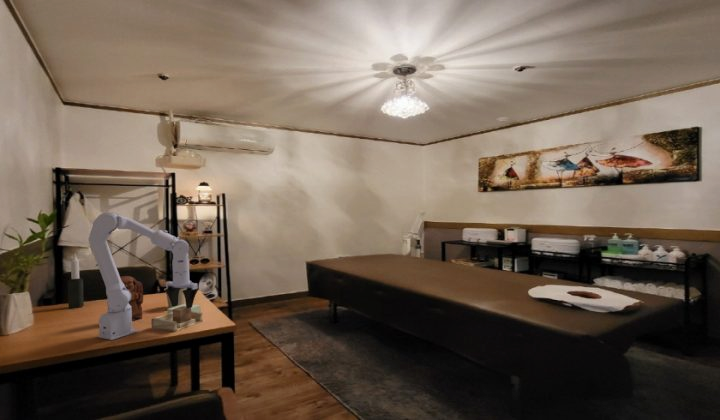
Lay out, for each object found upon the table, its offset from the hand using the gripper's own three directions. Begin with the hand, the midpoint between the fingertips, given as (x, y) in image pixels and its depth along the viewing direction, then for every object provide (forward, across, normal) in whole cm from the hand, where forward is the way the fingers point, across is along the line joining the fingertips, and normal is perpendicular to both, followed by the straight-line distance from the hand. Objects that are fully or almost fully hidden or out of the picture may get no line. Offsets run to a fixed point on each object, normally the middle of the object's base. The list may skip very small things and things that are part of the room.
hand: (182, 306), depth 142 cm
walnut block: (+6, 0, 0) cm, 6 cm away
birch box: (+7, +3, 0) cm, 8 cm away
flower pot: (+7, +26, -19) cm, 33 cm away
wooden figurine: (+7, +28, +3) cm, 29 cm away
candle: (+7, +72, -3) cm, 72 cm away
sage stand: (+7, +12, -11) cm, 18 cm away
